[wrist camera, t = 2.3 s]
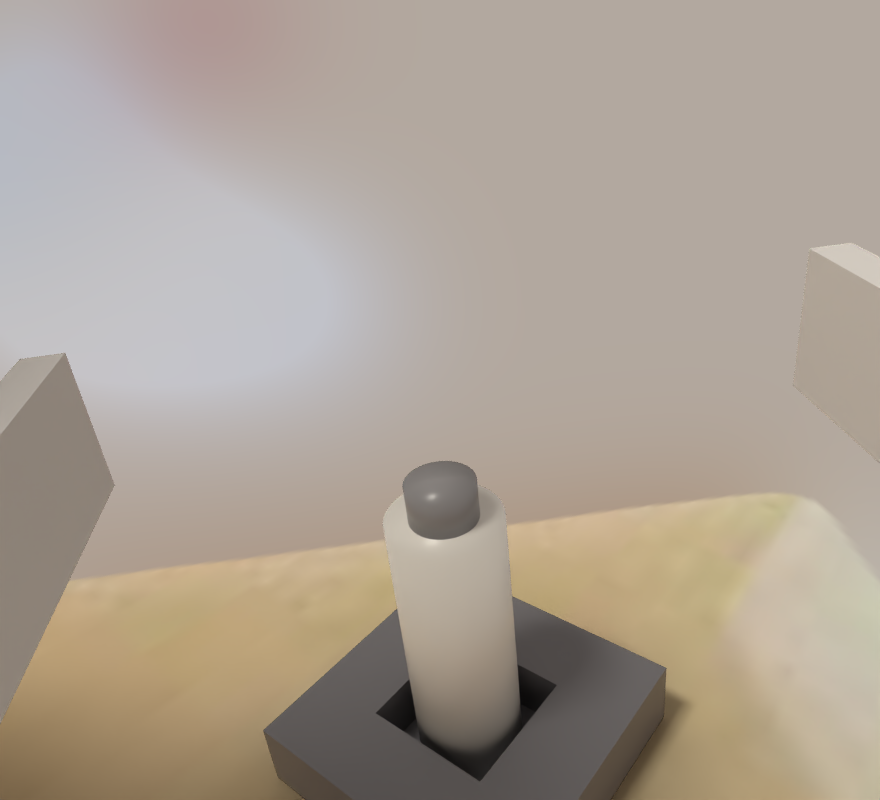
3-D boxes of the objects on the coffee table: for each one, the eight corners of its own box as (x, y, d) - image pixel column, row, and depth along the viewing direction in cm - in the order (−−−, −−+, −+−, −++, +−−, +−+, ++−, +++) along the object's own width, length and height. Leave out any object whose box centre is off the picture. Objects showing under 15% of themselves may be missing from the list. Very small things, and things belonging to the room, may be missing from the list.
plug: (400, 749, 33) (350, 494, 27) (462, 681, 36) (431, 436, 30) (482, 805, 31) (449, 538, 24) (542, 727, 34) (527, 469, 27)
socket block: (277, 777, 33) (263, 730, 32) (450, 608, 41) (445, 565, 40) (507, 962, 26) (501, 913, 25) (663, 716, 34) (666, 668, 33)
